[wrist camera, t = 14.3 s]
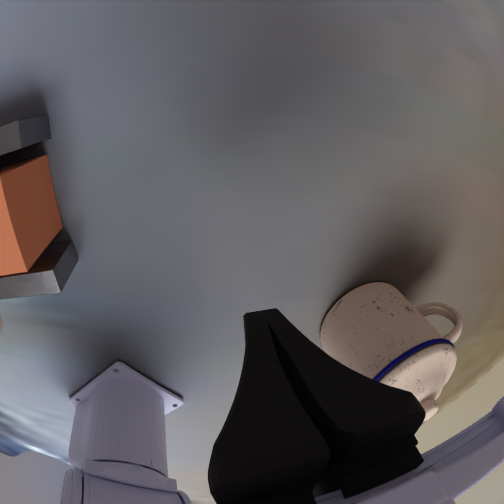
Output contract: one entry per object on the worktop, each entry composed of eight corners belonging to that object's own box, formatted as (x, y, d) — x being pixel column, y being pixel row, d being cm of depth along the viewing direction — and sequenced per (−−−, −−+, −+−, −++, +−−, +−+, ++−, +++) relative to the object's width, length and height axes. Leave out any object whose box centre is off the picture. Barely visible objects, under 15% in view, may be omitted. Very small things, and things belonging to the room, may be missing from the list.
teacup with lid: (328, 369, 29) (376, 463, 19) (304, 309, 25) (368, 425, 15) (425, 314, 29) (490, 387, 19) (421, 246, 25) (514, 322, 15)
